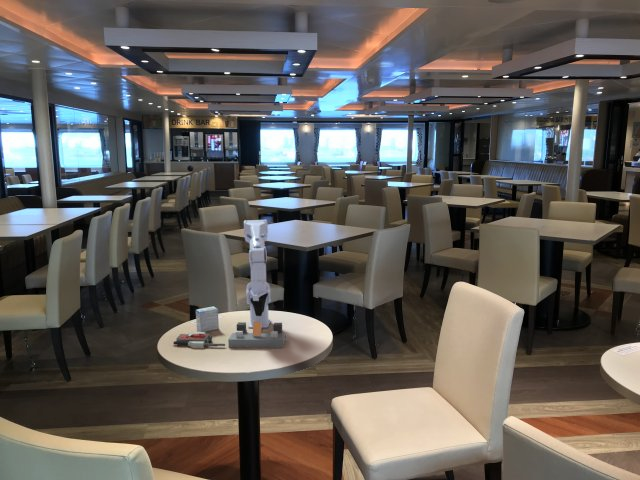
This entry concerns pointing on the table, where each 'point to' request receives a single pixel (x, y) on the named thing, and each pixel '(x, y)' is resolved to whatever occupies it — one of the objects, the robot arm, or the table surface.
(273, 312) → the table surface
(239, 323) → the plug
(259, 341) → the power strip
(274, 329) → the plug
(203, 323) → the medicine box
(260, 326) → the orange rectangular block
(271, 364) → the table surface
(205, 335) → the walkie-talkie
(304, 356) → the table surface
